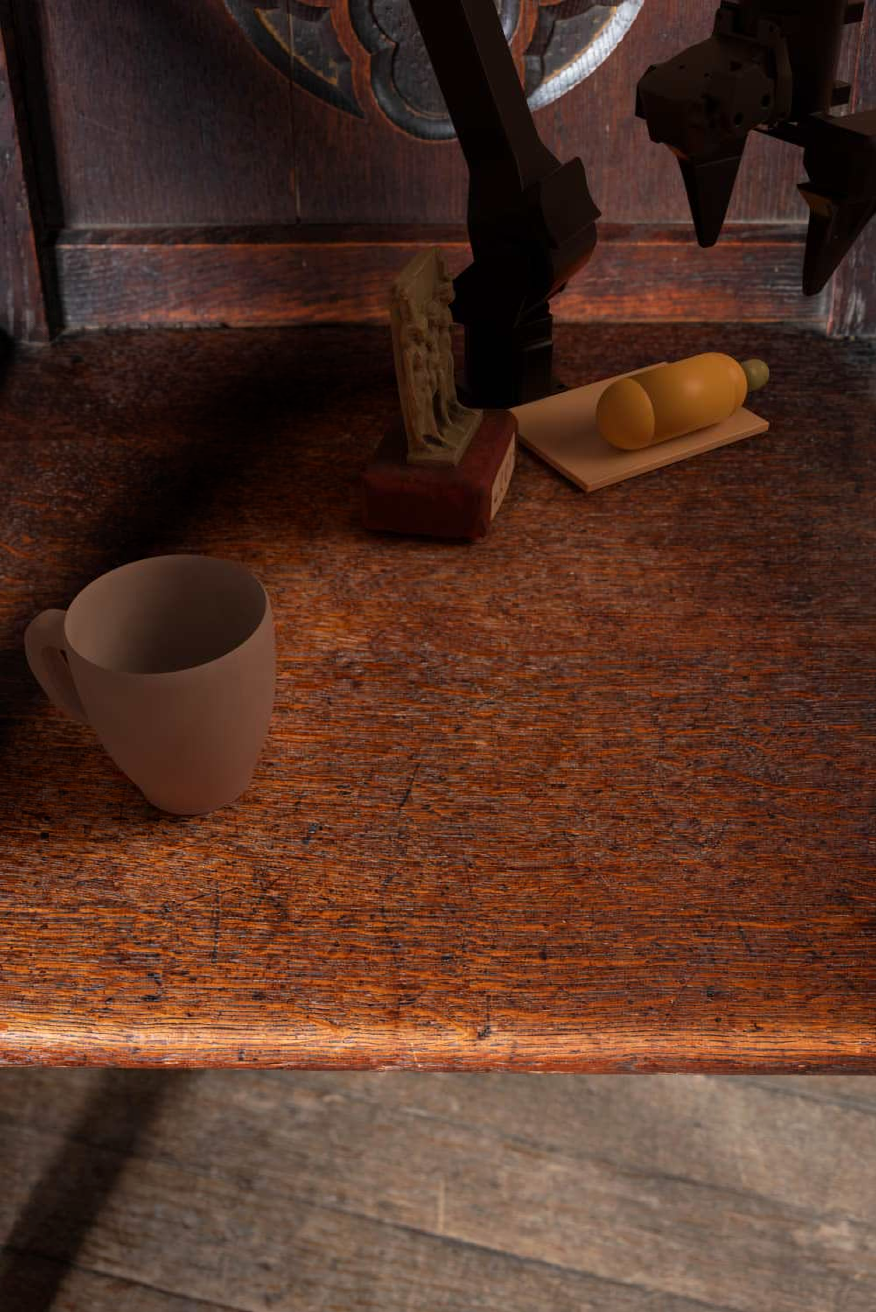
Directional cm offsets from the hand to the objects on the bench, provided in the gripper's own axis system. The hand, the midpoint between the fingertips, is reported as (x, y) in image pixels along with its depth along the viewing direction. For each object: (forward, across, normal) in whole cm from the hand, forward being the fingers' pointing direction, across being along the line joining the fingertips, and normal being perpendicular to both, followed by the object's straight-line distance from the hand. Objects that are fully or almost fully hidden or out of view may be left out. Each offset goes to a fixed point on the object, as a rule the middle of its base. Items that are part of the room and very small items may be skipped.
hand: (756, 269), depth 75 cm
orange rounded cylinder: (+11, -3, -2) cm, 12 cm away
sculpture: (+12, -4, -20) cm, 23 cm away
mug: (+12, +10, -43) cm, 46 cm away
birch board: (+12, -6, -4) cm, 14 cm away
